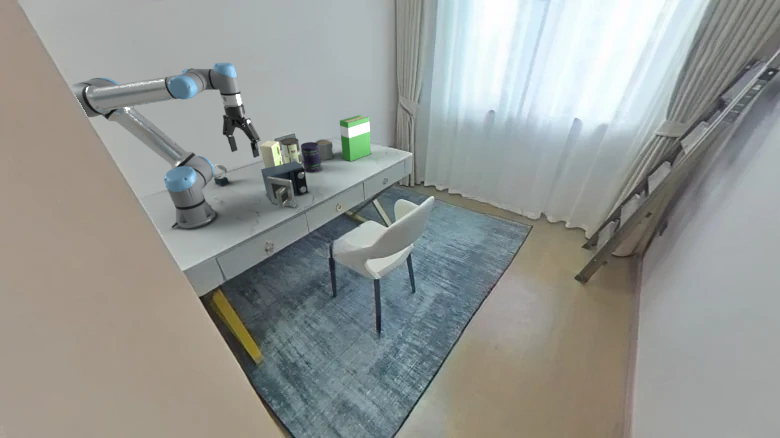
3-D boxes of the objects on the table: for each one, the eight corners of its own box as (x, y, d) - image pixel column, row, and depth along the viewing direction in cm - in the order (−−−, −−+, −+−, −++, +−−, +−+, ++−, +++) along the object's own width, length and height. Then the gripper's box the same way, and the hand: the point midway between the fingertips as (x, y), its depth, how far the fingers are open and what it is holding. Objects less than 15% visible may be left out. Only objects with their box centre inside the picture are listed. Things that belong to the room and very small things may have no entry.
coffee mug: (325, 161, 198) (323, 145, 193) (314, 157, 203) (312, 142, 198) (339, 154, 207) (338, 139, 202) (328, 151, 212) (327, 136, 207)
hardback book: (362, 150, 213) (361, 114, 200) (370, 153, 209) (369, 116, 196) (342, 158, 202) (339, 120, 189) (350, 161, 198) (347, 123, 185)
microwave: (308, 193, 163) (304, 168, 155) (274, 203, 154) (268, 177, 147) (300, 185, 171) (296, 161, 163) (266, 194, 162) (260, 169, 154)
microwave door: (286, 214, 146) (280, 188, 138) (263, 209, 149) (257, 183, 142) (296, 205, 152) (291, 180, 145) (274, 201, 156) (268, 176, 148)
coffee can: (293, 158, 202) (289, 136, 194) (305, 161, 197) (301, 139, 190) (281, 163, 195) (276, 141, 187) (292, 167, 190) (288, 144, 182)
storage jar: (315, 173, 183) (311, 149, 174) (301, 171, 186) (297, 146, 177) (324, 167, 190) (321, 143, 182) (310, 164, 193) (307, 141, 185)
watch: (232, 181, 174) (226, 163, 168) (218, 187, 168) (212, 168, 162) (225, 179, 176) (220, 160, 170) (212, 184, 171) (206, 165, 165)
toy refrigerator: (280, 183, 172) (272, 146, 161) (267, 182, 173) (259, 145, 162) (286, 177, 179) (279, 141, 167) (274, 176, 180) (267, 140, 168)
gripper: (204, 102, 132) (219, 151, 143) (248, 110, 123) (259, 161, 134) (220, 99, 137) (232, 146, 149) (262, 106, 128) (272, 156, 140)
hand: (245, 153), depth 142 cm, fingers open, 13 cm apart
